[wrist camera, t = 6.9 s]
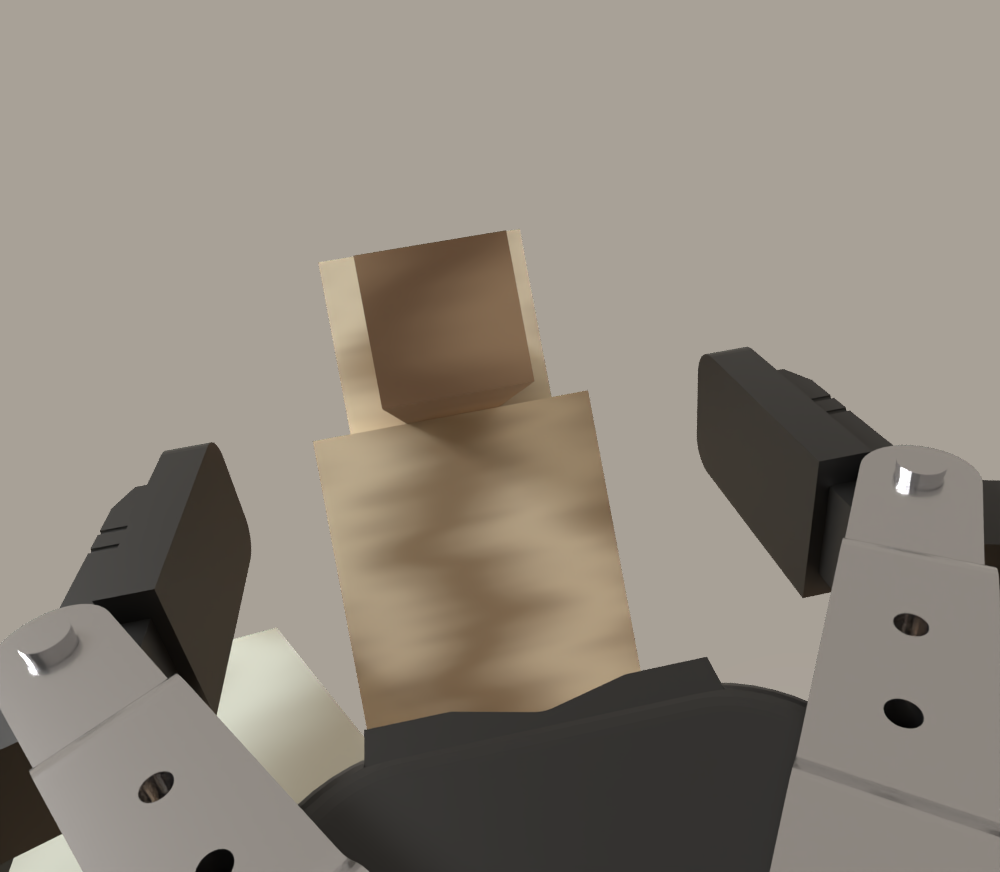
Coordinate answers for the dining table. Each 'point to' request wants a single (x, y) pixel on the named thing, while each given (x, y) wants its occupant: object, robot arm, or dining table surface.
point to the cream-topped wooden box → (261, 729)
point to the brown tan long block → (434, 330)
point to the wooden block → (477, 561)
